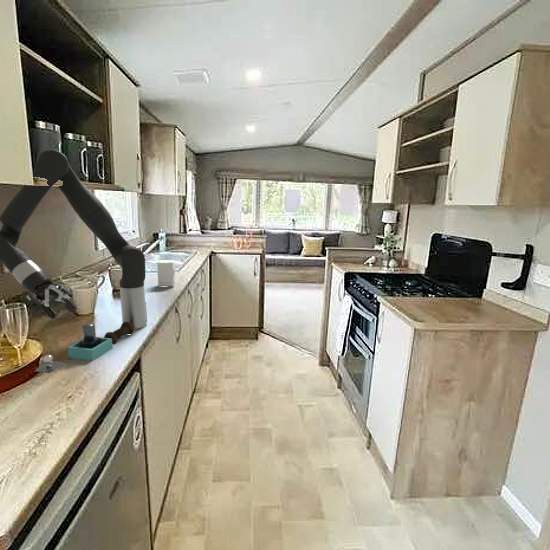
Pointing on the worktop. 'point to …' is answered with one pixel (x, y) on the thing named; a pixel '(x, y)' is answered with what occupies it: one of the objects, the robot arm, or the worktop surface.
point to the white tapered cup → (166, 273)
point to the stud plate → (49, 365)
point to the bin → (90, 350)
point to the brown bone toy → (120, 332)
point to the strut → (89, 337)
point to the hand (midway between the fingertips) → (65, 313)
